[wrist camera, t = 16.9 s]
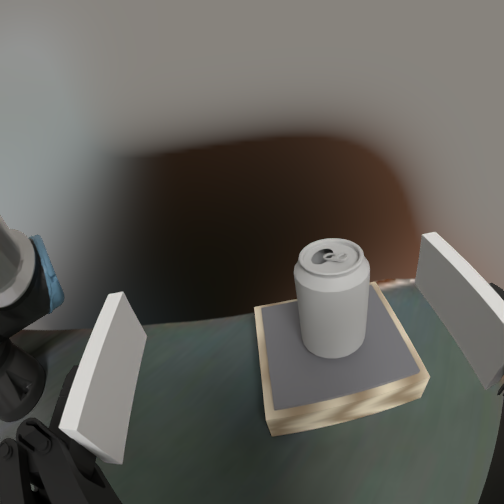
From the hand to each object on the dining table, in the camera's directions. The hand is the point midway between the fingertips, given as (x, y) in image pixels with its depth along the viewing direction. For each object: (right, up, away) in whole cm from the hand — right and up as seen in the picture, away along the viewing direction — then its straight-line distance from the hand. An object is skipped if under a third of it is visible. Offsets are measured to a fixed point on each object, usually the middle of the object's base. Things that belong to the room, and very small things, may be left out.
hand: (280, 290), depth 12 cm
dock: (+9, -13, +24) cm, 29 cm away
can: (+8, -9, +21) cm, 25 cm away
